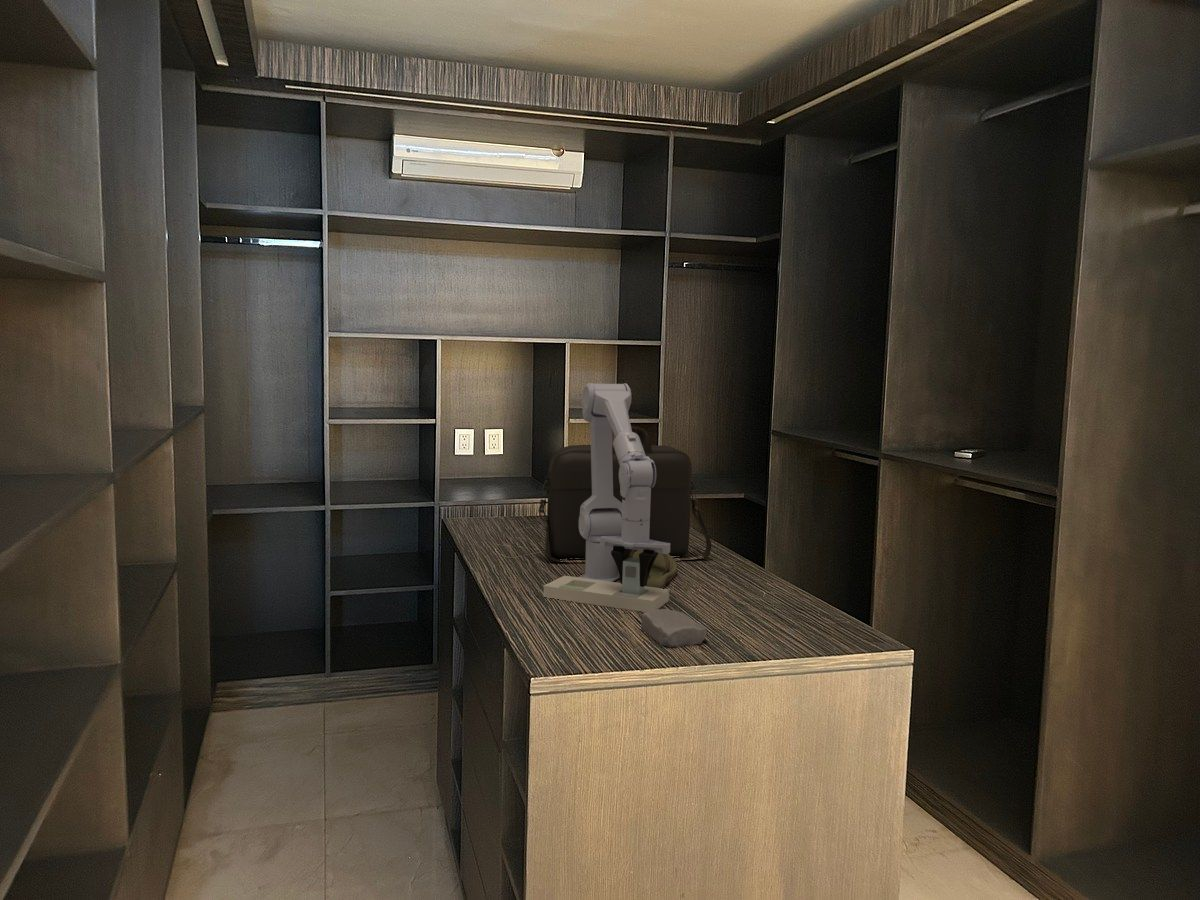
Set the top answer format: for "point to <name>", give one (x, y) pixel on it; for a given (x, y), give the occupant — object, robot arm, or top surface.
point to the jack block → (604, 594)
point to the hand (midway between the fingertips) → (633, 584)
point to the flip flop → (659, 569)
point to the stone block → (672, 628)
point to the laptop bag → (575, 487)
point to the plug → (632, 577)
